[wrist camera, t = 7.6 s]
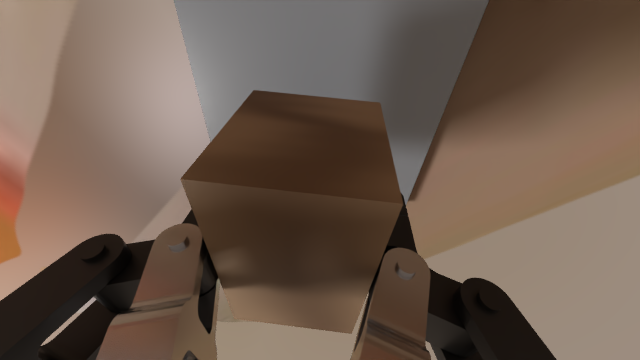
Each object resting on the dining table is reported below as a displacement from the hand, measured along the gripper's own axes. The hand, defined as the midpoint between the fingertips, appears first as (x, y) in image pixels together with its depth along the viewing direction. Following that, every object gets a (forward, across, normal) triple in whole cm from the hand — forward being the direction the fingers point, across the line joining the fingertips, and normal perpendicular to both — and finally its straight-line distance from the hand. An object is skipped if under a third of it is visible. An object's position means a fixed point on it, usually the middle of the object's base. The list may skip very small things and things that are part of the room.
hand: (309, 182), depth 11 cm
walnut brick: (+1, 0, 0) cm, 1 cm away
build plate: (+7, 0, 0) cm, 7 cm away
